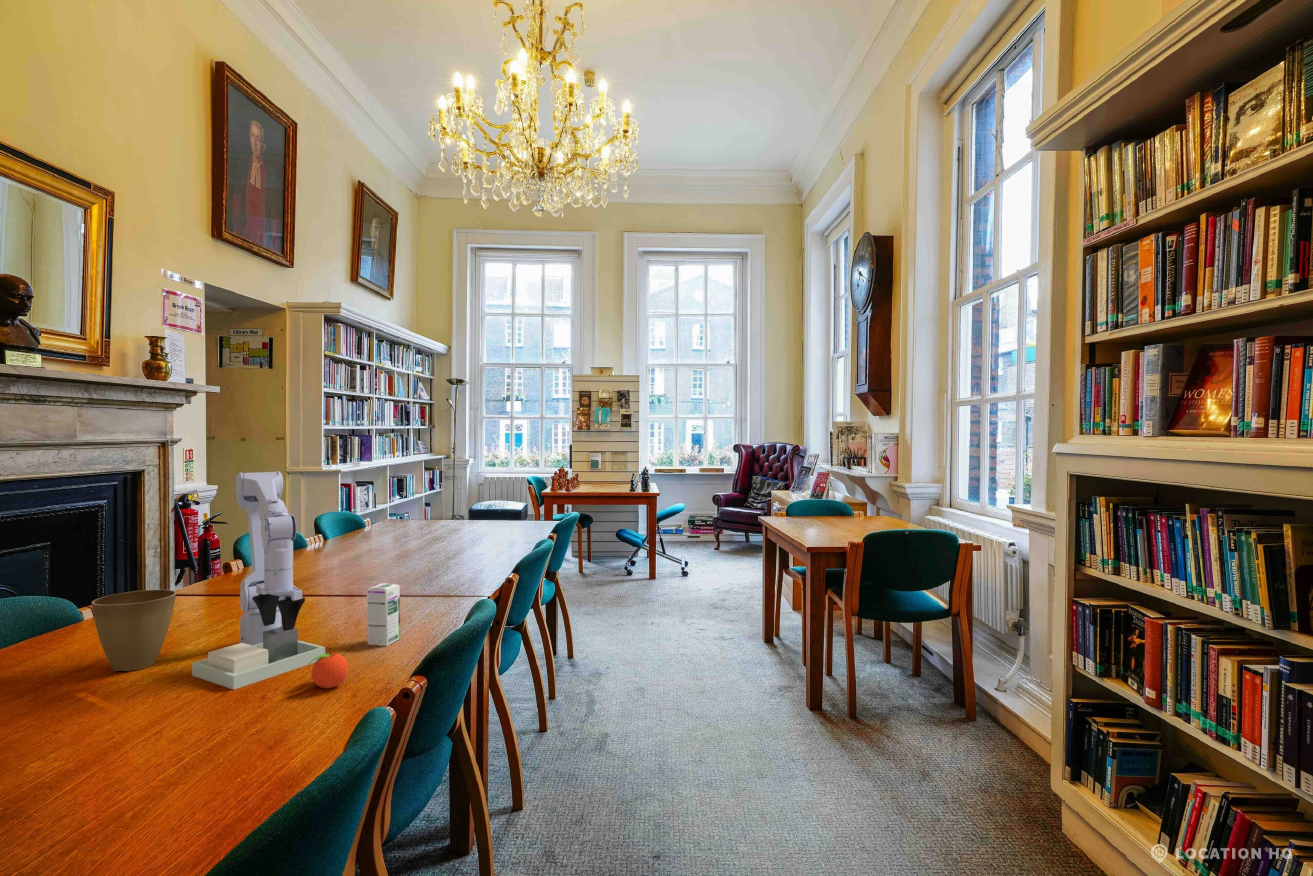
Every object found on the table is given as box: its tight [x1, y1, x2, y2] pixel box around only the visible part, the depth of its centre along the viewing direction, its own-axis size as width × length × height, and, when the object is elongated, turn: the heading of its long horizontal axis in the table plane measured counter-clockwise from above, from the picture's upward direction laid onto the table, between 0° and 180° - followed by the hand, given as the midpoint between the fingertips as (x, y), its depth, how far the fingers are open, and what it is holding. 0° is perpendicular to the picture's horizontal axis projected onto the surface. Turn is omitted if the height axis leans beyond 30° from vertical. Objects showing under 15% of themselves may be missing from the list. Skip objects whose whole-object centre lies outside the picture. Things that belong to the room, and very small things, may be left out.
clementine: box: [306, 652, 349, 689], centre depth 131 cm, size 8×7×7 cm
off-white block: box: [207, 642, 268, 674], centre depth 136 cm, size 10×7×5 cm
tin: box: [263, 626, 299, 664], centre depth 144 cm, size 5×5×7 cm
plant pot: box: [91, 589, 177, 672], centre depth 143 cm, size 15×15×16 cm
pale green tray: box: [191, 639, 326, 691], centre depth 141 cm, size 16×20×4 cm
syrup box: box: [366, 582, 402, 647], centre depth 160 cm, size 6×6×14 cm
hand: (278, 627), depth 144 cm, fingers open, 7 cm apart
